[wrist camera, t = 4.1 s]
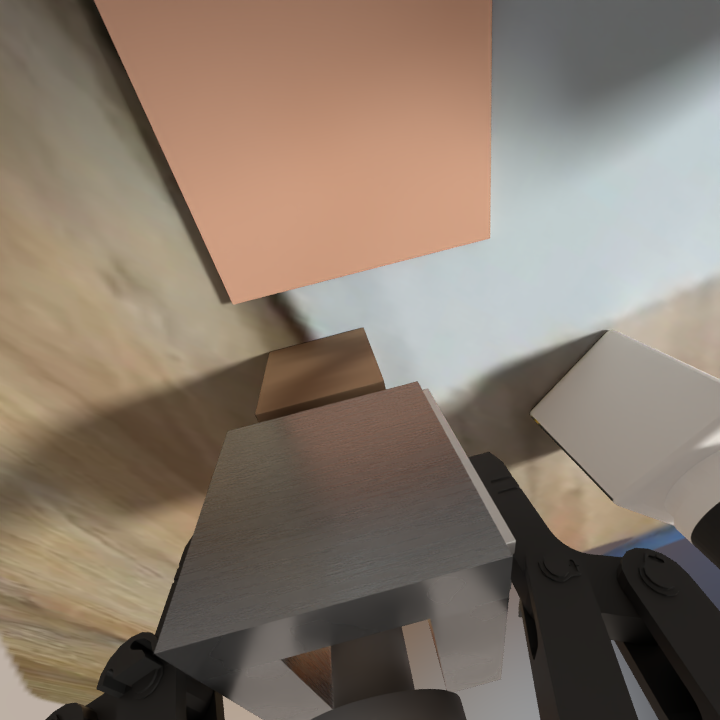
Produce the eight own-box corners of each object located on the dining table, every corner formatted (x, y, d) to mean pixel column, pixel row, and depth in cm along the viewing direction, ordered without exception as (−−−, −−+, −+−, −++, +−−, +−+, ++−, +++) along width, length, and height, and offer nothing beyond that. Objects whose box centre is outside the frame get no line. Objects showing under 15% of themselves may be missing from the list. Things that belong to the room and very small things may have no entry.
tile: (482, -226, 8) (494, -253, 8) (483, 236, 14) (490, 238, 14) (44, -126, 8) (27, -147, 8) (235, 300, 14) (233, 304, 14)
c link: (227, 431, 11) (153, 653, 6) (417, 381, 11) (512, 556, 6) (298, 547, 15) (292, 736, 10) (435, 510, 15) (501, 679, 10)
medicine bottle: (525, 413, 21) (739, 637, 10) (608, 325, 18) (1003, 510, 8) (587, 441, 23) (808, 644, 13) (668, 368, 21) (1026, 550, 10)
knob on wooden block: (363, 327, 16) (514, 717, 4) (388, 436, 20) (499, 785, 8) (269, 352, 16) (161, 820, 4) (314, 456, 20) (322, 836, 8)
